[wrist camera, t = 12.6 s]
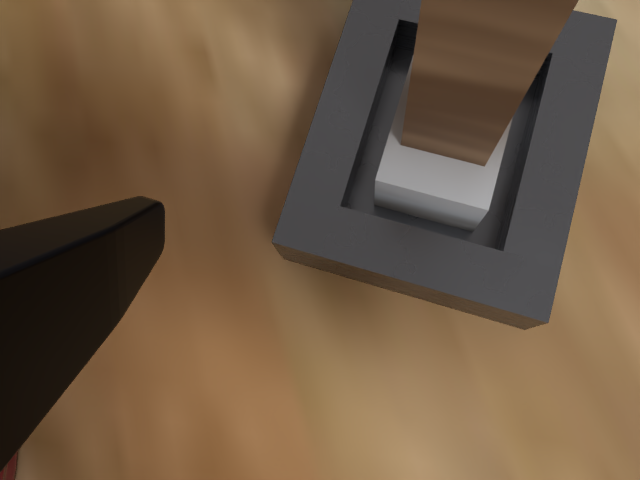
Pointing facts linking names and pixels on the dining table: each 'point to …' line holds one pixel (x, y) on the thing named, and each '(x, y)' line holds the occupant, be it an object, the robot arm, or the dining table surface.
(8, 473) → the canister
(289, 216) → the holder block
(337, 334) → the dining table surface
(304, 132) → the dining table surface
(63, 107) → the dining table surface
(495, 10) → the slot cleaner tool
